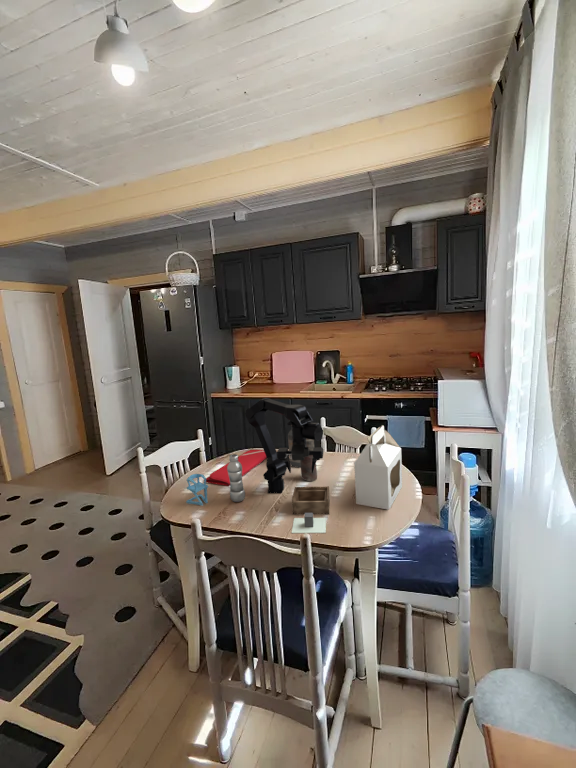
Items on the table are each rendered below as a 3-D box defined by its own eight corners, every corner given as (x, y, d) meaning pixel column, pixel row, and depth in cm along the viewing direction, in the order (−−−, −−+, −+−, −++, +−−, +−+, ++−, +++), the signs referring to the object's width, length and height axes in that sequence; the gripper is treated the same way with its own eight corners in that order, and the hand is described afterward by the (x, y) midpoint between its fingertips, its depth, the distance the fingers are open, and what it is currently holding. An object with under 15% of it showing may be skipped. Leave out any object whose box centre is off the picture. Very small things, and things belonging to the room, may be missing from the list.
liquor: (301, 468, 190) (297, 411, 185) (287, 465, 196) (283, 409, 191) (312, 462, 197) (308, 406, 192) (298, 459, 203) (294, 405, 198)
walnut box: (292, 514, 147) (291, 499, 146) (295, 500, 157) (294, 486, 156) (329, 514, 145) (328, 499, 144) (329, 500, 156) (328, 486, 155)
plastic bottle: (233, 505, 157) (228, 459, 154) (228, 499, 163) (223, 455, 160) (248, 501, 160) (243, 456, 157) (242, 495, 166) (237, 451, 163)
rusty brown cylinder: (298, 481, 177) (295, 439, 173) (304, 474, 183) (301, 435, 180) (314, 482, 174) (311, 440, 170) (319, 476, 180) (316, 435, 177)
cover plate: (291, 534, 134) (290, 522, 133) (294, 520, 144) (293, 508, 143) (325, 534, 132) (324, 521, 132) (326, 519, 142) (325, 507, 142)
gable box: (372, 481, 170) (370, 421, 165) (402, 486, 164) (400, 423, 159) (355, 504, 151) (352, 436, 146) (388, 510, 145) (386, 440, 140)
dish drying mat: (203, 483, 183) (202, 475, 183) (249, 454, 219) (248, 447, 219) (229, 487, 176) (228, 480, 176) (272, 456, 212) (272, 450, 211)
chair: (197, 508, 158) (194, 481, 156) (185, 502, 163) (182, 476, 161) (212, 500, 163) (209, 474, 161) (200, 495, 169) (197, 470, 167)
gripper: (272, 443, 147) (275, 481, 150) (320, 442, 144) (322, 481, 147) (277, 434, 158) (280, 469, 161) (322, 433, 155) (324, 469, 158)
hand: (301, 472), depth 156 cm, fingers open, 9 cm apart
